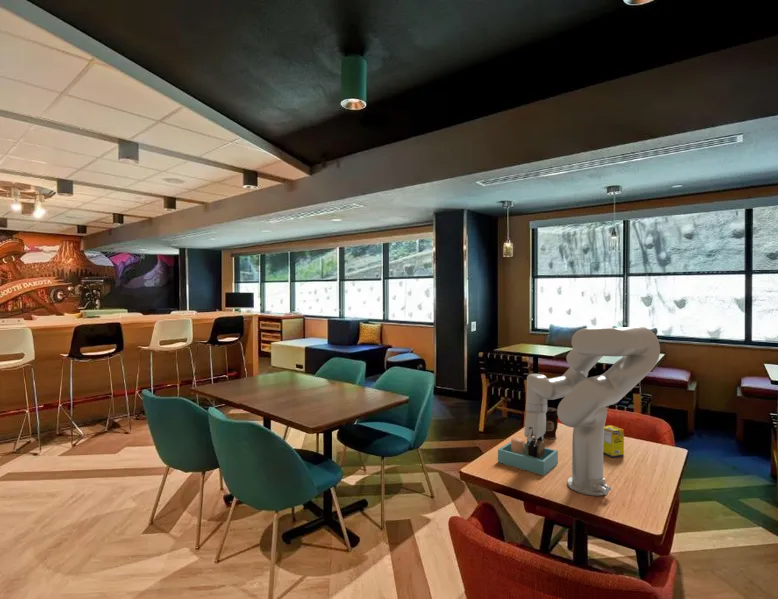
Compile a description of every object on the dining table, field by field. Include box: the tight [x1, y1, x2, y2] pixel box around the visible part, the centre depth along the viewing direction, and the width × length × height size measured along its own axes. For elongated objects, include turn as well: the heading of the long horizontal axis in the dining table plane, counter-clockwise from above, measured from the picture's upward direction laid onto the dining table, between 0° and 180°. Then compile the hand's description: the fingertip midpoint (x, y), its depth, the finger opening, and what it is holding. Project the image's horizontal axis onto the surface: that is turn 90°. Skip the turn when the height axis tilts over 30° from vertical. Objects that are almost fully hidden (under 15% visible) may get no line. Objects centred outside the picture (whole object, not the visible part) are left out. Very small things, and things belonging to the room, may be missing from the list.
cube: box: [526, 439, 546, 458], centre depth 162 cm, size 5×5×5 cm
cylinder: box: [510, 437, 525, 455], centre depth 166 cm, size 5×5×7 cm
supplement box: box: [603, 424, 625, 459], centre depth 172 cm, size 6×6×11 cm
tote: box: [497, 441, 559, 476], centre depth 164 cm, size 18×14×5 cm
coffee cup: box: [543, 406, 559, 440], centre depth 192 cm, size 9×8×13 cm
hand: (535, 453), depth 162 cm, fingers closed on cube, 4 cm apart
